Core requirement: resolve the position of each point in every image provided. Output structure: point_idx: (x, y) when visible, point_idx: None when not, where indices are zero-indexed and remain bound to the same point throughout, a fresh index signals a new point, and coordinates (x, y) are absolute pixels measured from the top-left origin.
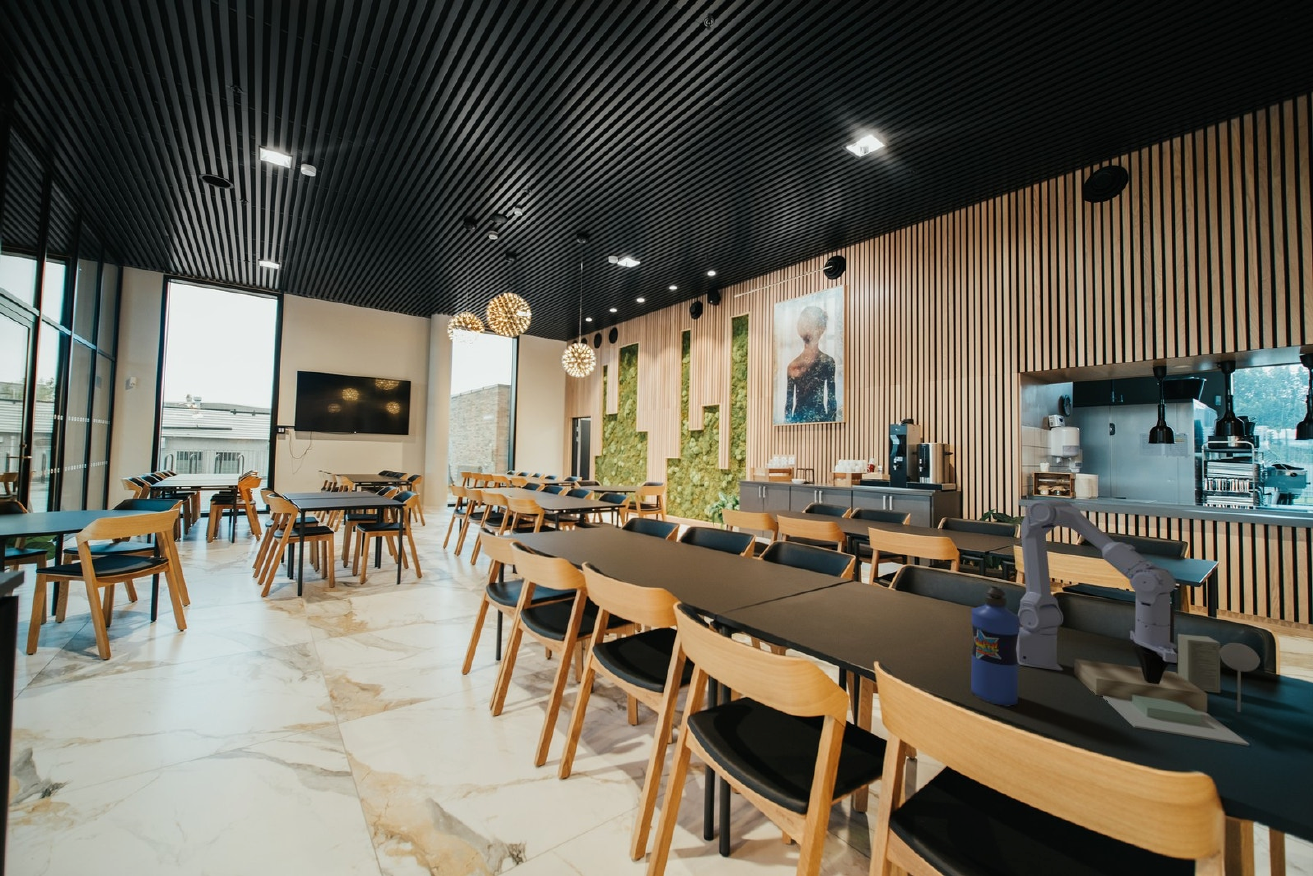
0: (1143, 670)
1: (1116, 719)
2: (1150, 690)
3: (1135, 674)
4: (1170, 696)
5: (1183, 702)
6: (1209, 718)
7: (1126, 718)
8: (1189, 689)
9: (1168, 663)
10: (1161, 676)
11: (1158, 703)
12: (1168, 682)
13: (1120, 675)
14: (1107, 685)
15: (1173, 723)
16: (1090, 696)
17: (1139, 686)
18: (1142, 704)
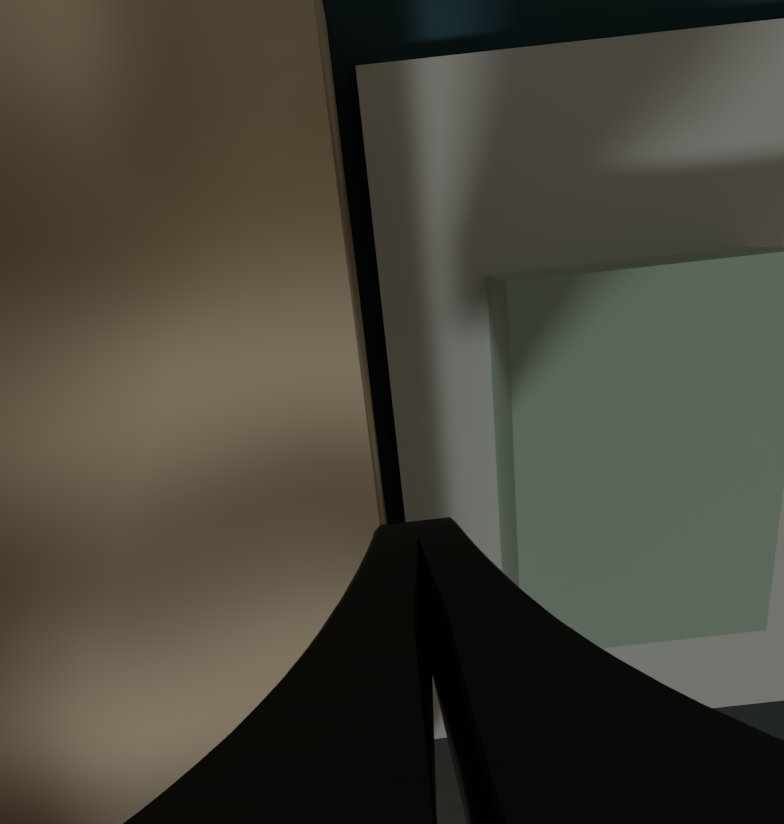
0: (434, 761)
1: (781, 734)
2: (381, 516)
3: (54, 582)
4: (361, 342)
5: (508, 284)
6: (552, 93)
7: (782, 698)
8: (252, 117)
9: (734, 735)
10: (489, 565)
11: (637, 521)
12: (113, 301)
13: (202, 720)
14: None
15: None
16: (448, 783)
17: None
18: (686, 632)
